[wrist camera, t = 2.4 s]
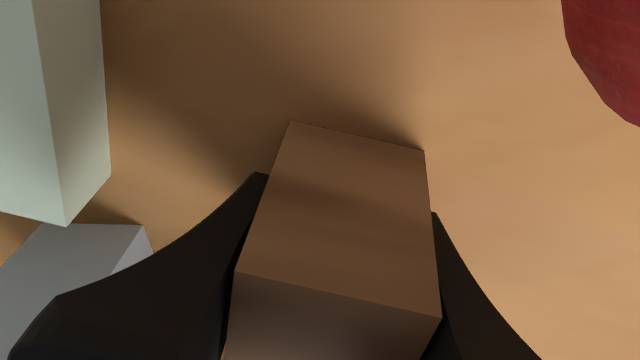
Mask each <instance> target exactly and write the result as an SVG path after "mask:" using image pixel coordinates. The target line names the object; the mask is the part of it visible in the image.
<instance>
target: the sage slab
mask: <svg viewBox="0 0 640 360" xmlns="http://www.w3.org/2000/svg"><path fill="white" fill-rule="evenodd" d="M110 176H111V163H110V148H109V134H108V119H107V105H106V90H105V76H104V61H103V47H102V32H101V18H100V3H99V0H0V211H1V212H6V213H10V214H14V215H18V216H22V217H26V218H30V219H34V220H38V221H43V222H47V223H51V224H55V225H59V226H63V227H67V226H68V225H69V224H70V223H71V221H72V220H73V219H74V218H75V217H76V216H77V214H78V213H79V212H80V211H81V210H82V209H83V207H84V206H85V205H86V204H87V203H88V202H89V200H90V199H91V198H92V197H93V196H94V195H95V193H96V192H97V191H98V190H99V189H100V188H101V186H102V185H103V184H104V183H105V182H106V181H107V179H108V178H109V177H110Z"/></svg>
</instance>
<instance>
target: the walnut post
mask: <svg viewBox="0 0 640 360" xmlns="http://www.w3.org/2000/svg"><path fill="white" fill-rule="evenodd" d="M441 319H442V310H441V301H440V292H439V283H438V274H437V264H436V255H435V246H434V237H433V228H432V218H431V209H430V200H429V191H428V182H427V172H426V163H425V154H424V151H423V150H418V149H414V148H410V147H405V146H401V145H397V144H392V143H388V142H383V141H379V140H375V139H370V138H366V137H362V136H357V135H353V134H348V133H344V132H340V131H335V130H331V129H327V128H322V127H318V126H313V125H309V124H305V123H300V122H296V121H292V120H290V122H289V125H288V128H287V130H286V133H285V136H284V138H283V141H282V144H281V146H280V149H279V152H278V154H277V157H276V160H275V163H274V165H273V168H272V171H271V173H270V176H269V179H268V181H267V184H266V187H265V189H264V192H263V195H262V198H261V200H260V203H259V206H258V208H257V211H256V214H255V216H254V219H253V222H252V224H251V227H250V230H249V233H248V235H247V238H246V241H245V243H244V246H243V249H242V251H241V254H240V257H239V259H238V262H237V265H236V268H235V270H234V277H233V286H232V295H231V303H230V312H229V321H228V330H227V338H226V347H225V356H224V360H420V358H421V356H422V354H423V352H424V350H425V349H426V347H427V345H428V343H429V341H430V339H431V338H432V336H433V334H434V332H435V330H436V329H437V327H438V325H439V323H440V321H441Z"/></svg>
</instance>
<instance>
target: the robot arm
mask: <svg viewBox="0 0 640 360" xmlns="http://www.w3.org/2000/svg"><path fill="white" fill-rule="evenodd" d="M269 176H270V175H268V174H264V173H259V172H254V173H252V174H251V175H250V176H249V177H248V178H247V179H246V181H245V182H244V183H243V184H242V185H241V186H240V187H239V188H238V189H237V190H236V191H235V192H234V193H233V194H232V195H231V196H230V197H229V198H228V199H227V200H226V201H225V202H224V203H222V204H221V205H220V206H219V207H218V208H217V209H216V210H215V211H214V212H212V213H211V214H210V215H209V216H207V217H206V218H205V219H204V220H202V221H201V222H200V223H199V224H197V225H196V226H195V227H194V228H192V229H191V230H190V231H188V232H187V233H185V234H184V235H183V236H181V237H180V238H178V239H177V240H175V241H174V242H172V243H170V244H169V245H167V246H166V247H164V248H162V249H161V250H159V251H157V252H155V253H154V254H152V255H150V256H149V257H147V258H145V259H143V260H141V261H139V262H137V263H135V264H134V265H131V266H129V267H127V268H125V269H123V270H121V271H119V272H116V273H114V274H112V275H110V276H108V277H105V278H103V279H101V280H98V281H96V282H93V283H90V284H87V285H85V286H82V287H79V288H76V289H74V290H71V291H68V292H65V293H62V294H59V295H56V296H55V297H54V298H53V299H52V300H51V301H50V303H49V304H48V305H47V306H46V307H45V308H44V309H43V310H42V311H41V312H40V313H39V314H38V315H37V316H36V317H35V318H34V320H33V321H32V322H31V324H30V325H29V326H28V327H27V329H26V330H25V331H24V333H23V334H22V335H21V337H20V338H19V339H18V341H17V342H16V343H15V345H14V346H13V347H12V349H11V350H10V352H9V355H8V357H7V360H220V358H221V355H222V352H223V349H224V345H225V342H226V338H227V330H228V321H229V312H230V303H231V295H232V286H233V277H234V270H235V268H236V265H237V262H238V259H239V257H240V254H241V251H242V249H243V246H244V243H245V241H246V238H247V235H248V233H249V230H250V227H251V224H252V222H253V219H254V216H255V214H256V211H257V208H258V206H259V203H260V200H261V198H262V195H263V192H264V189H265V187H266V184H267V181H268V179H269ZM431 218H432V228H433V237H434V246H435V255H436V264H437V274H438V283H439V292H440V301H441V310H442V319H441V321H440V323H439V325H438V327H437V329H436V330H435V332H434V334H433V336H432V338H431V339H430V341H429V343H428V345H427V347H426V349H425V350H424V352H423V354H422V356H421V358H420V360H542V359H541V358H540V357H539V356H538V355H537V354H536V353H535V352H534V351H533V350H532V349H531V348H530V347H529V346H528V345H527V344H526V343H525V342H524V341H523V340H522V339H521V338H520V336H519V335H518V334H517V333H516V332H515V331H514V330H513V329H512V328H511V326H510V325H509V324H508V323H507V322H506V320H505V319H504V318H503V317H502V316H501V314H500V313H499V312H498V311H497V309H496V308H495V307H494V306H493V304H492V303H491V302H490V300H489V299H488V298H487V296H486V295H485V294H484V292H483V291H482V289H481V288H480V286H479V285H478V284H477V282H476V281H475V279H474V278H473V276H472V275H471V273H470V272H469V270H468V268H467V267H466V265H465V263H464V262H463V260H462V258H461V257H460V255H459V253H458V252H457V250H456V248H455V246H454V245H453V243H452V241H451V239H450V237H449V236H448V234H447V232H446V230H445V228H444V226H443V225H442V223H441V221H440V219H439V217H438V216H437V214H436V213H435V212H431Z"/></svg>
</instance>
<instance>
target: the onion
mask: <svg viewBox="0 0 640 360" xmlns="http://www.w3.org/2000/svg"><path fill="white" fill-rule="evenodd" d="M561 4H562V12H563V20H564V29H565V37H566V39H567V42H568V45H569V48H570V51H571V54H572V56H573V57H574V59H575V60H576V62H577V63H578V65H579V66H580V68H581V69H582V71H583V72H584V74H585V75H586V77H587V78H588V80H589V81H590V83H591V84H592V86H593V87H594V88H595V90H596V91H597V93H598V94H599V96H600V97H601V99H602V100H603V102H604V103H605V104H606V105H607V106H608V107H610V108H611V109H612V110H613V111H614V112H616V113H617V114H618V115H619V116H620V117H622V118H623V119H624V120H625V121H627V122H629V123H632V124H634V125H636V126H638V127H640V0H561Z"/></svg>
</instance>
